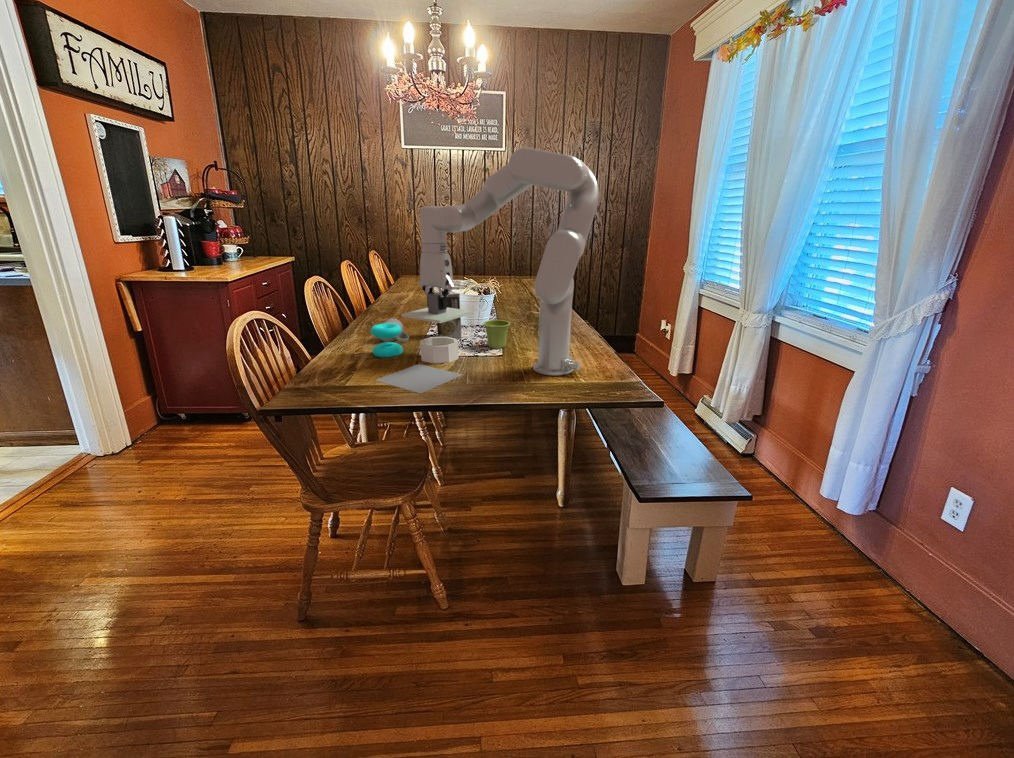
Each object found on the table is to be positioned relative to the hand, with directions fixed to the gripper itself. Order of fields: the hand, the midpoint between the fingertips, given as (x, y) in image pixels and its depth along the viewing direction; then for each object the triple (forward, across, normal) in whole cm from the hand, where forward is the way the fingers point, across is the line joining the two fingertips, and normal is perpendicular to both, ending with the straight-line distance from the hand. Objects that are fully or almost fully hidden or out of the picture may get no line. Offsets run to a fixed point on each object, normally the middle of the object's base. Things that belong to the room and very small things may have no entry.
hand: (437, 307), depth 152 cm
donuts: (+17, +18, +6) cm, 26 cm away
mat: (+17, -8, +18) cm, 26 cm away
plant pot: (+17, -7, -23) cm, 30 cm away
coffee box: (+17, +16, -24) cm, 34 cm away
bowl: (+17, 0, 0) cm, 17 cm away
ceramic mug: (+17, +29, -8) cm, 35 cm away
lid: (+2, 0, 0) cm, 2 cm away
